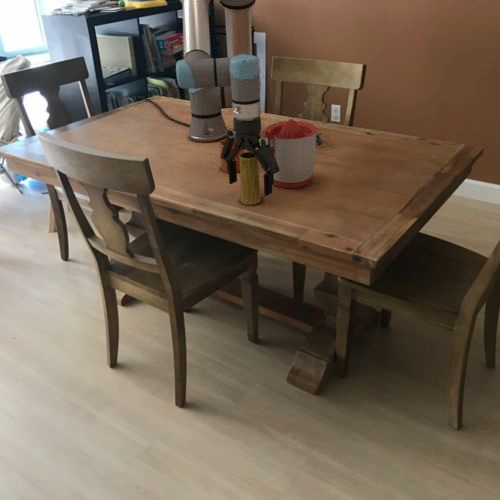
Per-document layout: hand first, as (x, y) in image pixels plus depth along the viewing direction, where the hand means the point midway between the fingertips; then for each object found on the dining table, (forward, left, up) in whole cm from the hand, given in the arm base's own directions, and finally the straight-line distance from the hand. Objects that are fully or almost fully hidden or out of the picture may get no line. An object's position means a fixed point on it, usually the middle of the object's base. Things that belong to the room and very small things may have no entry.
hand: (250, 188), depth 150 cm
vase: (0, 0, -4) cm, 4 cm away
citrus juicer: (+1, +17, -4) cm, 17 cm away
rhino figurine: (-13, +48, -4) cm, 50 cm away
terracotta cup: (-21, +15, -4) cm, 26 cm away
